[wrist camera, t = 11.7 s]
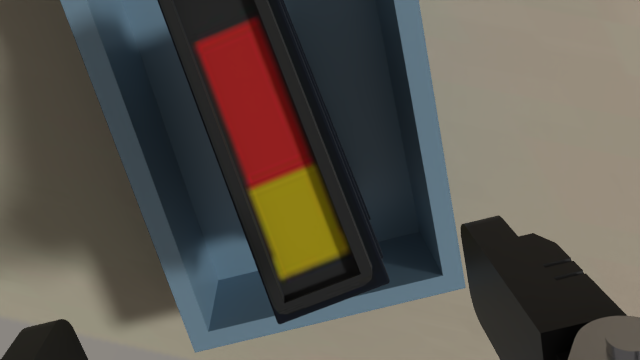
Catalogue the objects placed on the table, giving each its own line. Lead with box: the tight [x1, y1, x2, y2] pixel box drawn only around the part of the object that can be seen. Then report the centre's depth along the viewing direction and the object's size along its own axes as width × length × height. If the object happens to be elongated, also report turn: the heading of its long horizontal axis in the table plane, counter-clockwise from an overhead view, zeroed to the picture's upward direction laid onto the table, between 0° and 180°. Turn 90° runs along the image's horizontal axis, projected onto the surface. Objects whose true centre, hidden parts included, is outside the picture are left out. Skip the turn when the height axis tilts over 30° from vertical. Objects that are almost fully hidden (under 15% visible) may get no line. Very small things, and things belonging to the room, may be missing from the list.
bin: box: [60, 0, 466, 352], centre depth 28 cm, size 21×14×6 cm, turn 13°
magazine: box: [157, 0, 390, 324], centre depth 25 cm, size 4×13×15 cm, turn 22°
